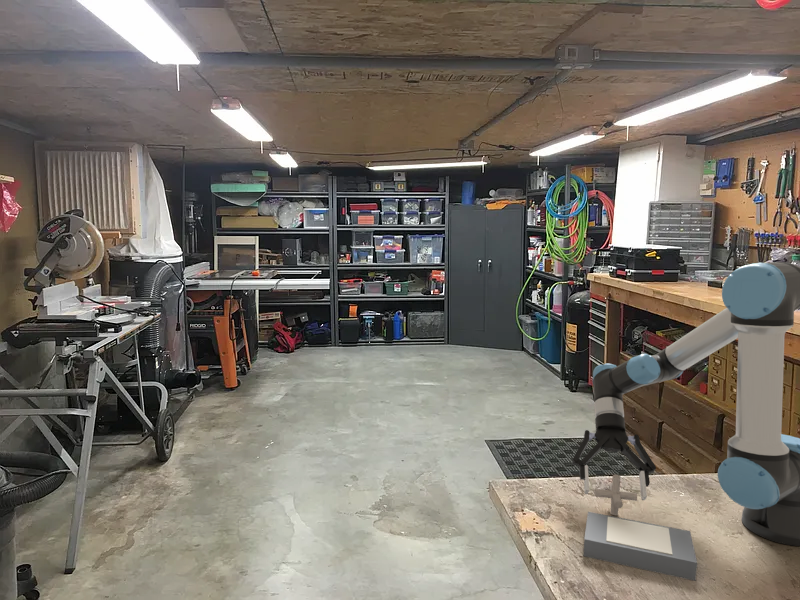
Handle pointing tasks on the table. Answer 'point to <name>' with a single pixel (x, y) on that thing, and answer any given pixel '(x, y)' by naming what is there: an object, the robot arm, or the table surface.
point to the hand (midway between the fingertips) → (615, 495)
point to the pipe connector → (615, 494)
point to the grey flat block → (640, 545)
